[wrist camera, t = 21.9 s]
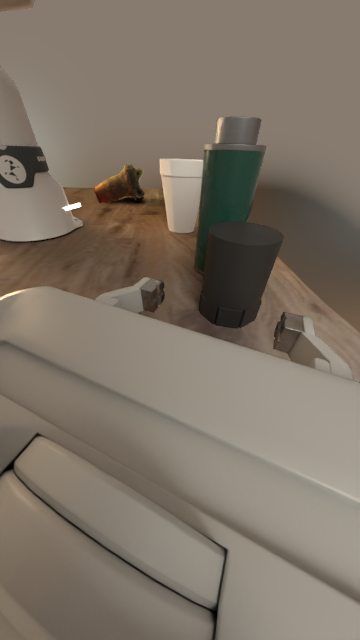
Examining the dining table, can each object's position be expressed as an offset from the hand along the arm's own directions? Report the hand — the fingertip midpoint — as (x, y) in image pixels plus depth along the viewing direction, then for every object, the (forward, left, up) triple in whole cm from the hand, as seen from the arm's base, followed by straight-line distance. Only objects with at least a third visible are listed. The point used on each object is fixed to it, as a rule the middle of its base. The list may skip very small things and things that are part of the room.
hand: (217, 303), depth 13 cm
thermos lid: (-5, +7, -7) cm, 11 cm away
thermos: (-14, +13, -7) cm, 20 cm away
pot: (-71, +22, -7) cm, 74 cm away
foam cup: (-34, +20, -7) cm, 40 cm away
